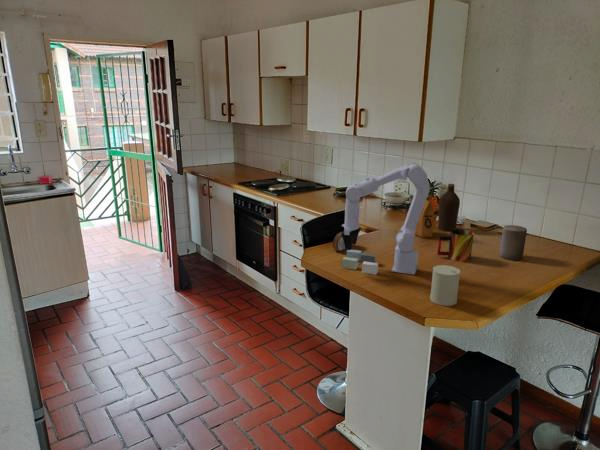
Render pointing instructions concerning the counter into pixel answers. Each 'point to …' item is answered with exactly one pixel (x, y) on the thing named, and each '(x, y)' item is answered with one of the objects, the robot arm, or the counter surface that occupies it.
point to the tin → (338, 242)
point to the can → (445, 285)
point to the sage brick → (350, 263)
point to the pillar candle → (513, 242)
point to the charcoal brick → (368, 257)
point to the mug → (458, 245)
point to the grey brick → (370, 268)
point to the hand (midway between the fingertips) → (350, 246)
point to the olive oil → (448, 210)
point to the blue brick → (354, 254)
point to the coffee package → (426, 220)
